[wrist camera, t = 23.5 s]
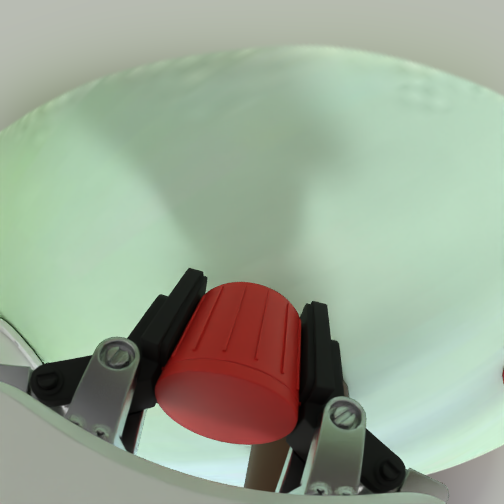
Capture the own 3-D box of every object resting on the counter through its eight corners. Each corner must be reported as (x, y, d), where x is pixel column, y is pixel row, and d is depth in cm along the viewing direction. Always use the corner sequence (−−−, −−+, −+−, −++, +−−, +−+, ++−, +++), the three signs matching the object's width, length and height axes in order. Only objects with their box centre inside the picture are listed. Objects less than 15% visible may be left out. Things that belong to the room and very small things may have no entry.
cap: (325, 321, 9) (331, 415, 6) (259, 375, 11) (244, 453, 7) (229, 258, 8) (187, 343, 5) (178, 328, 10) (137, 403, 7)
